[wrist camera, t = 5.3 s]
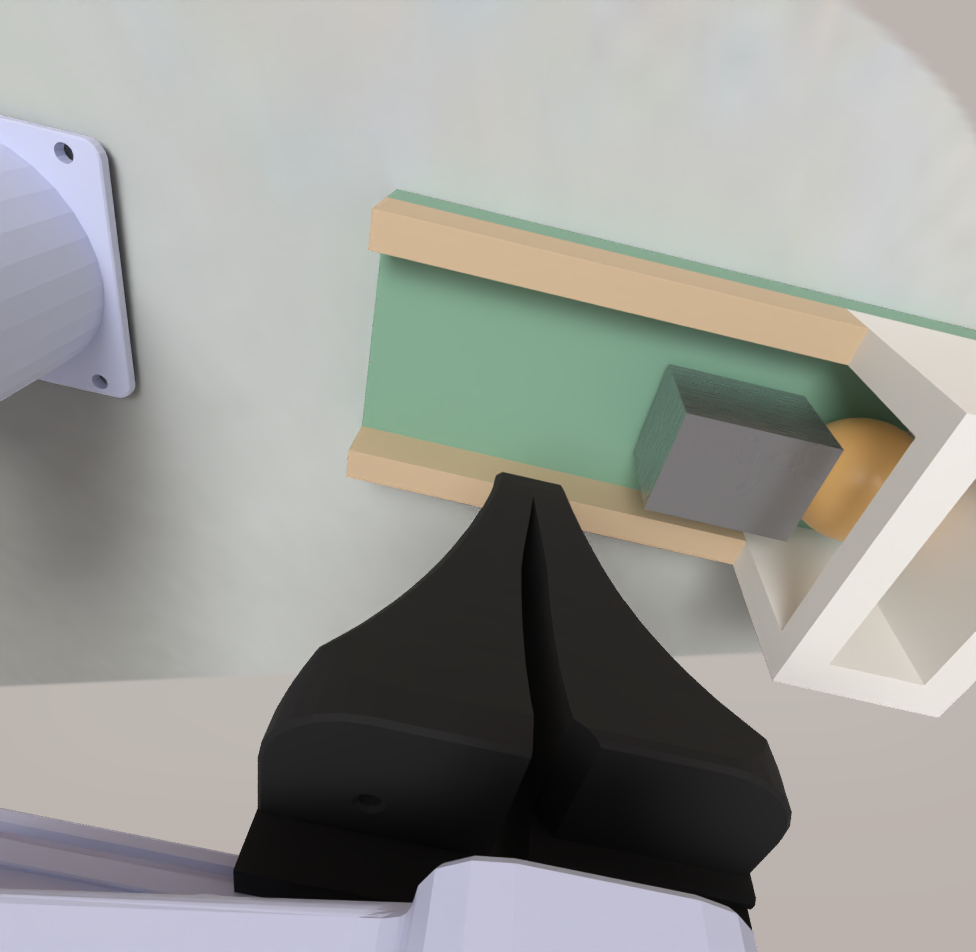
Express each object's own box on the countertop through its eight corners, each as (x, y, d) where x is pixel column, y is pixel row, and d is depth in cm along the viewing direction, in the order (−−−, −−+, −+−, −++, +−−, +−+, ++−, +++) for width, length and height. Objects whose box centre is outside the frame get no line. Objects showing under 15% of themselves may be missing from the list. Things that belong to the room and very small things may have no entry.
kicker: (633, 451, 19) (644, 509, 17) (668, 363, 18) (686, 412, 15) (757, 480, 20) (786, 541, 17) (804, 395, 18) (844, 450, 15)
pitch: (368, 434, 22) (294, 574, 16) (397, 189, 17) (310, 256, 11) (837, 542, 22) (938, 717, 16) (981, 331, 18) (1192, 467, 12)
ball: (819, 573, 17) (912, 566, 18) (894, 465, 15) (992, 465, 16) (741, 492, 19) (827, 491, 20) (796, 391, 17) (886, 396, 19)
